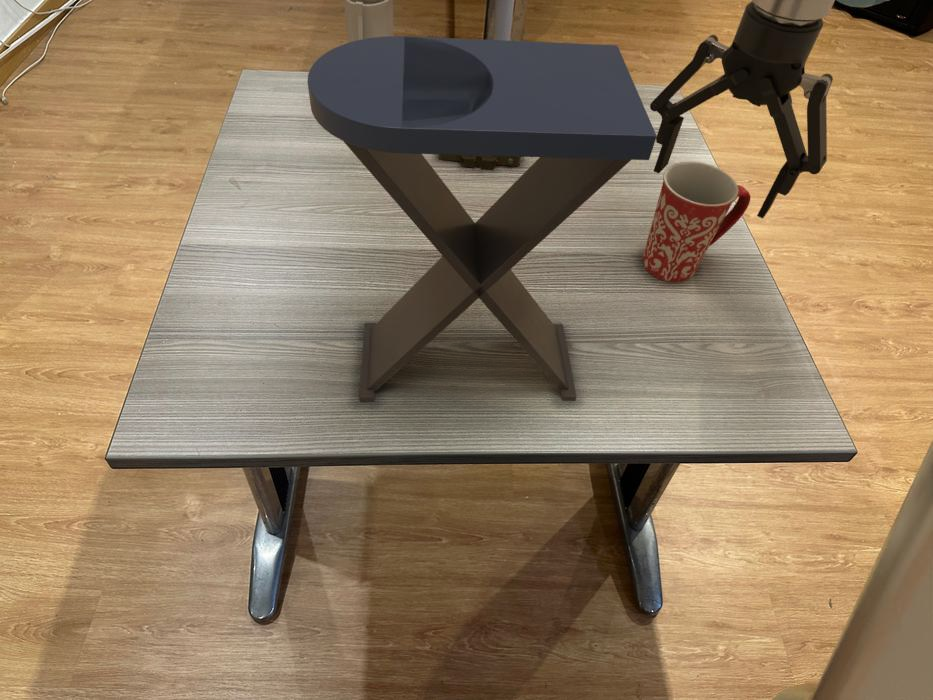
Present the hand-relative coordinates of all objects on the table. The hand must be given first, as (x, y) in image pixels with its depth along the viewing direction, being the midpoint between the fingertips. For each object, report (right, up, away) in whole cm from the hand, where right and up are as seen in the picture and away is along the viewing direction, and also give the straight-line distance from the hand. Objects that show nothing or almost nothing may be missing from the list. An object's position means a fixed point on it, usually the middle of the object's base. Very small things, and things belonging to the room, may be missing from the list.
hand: (710, 189), depth 80 cm
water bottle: (-46, +18, +28) cm, 56 cm away
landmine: (-28, +14, +26) cm, 40 cm away
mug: (-1, -8, +9) cm, 12 cm away
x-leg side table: (-31, -21, -4) cm, 38 cm away
